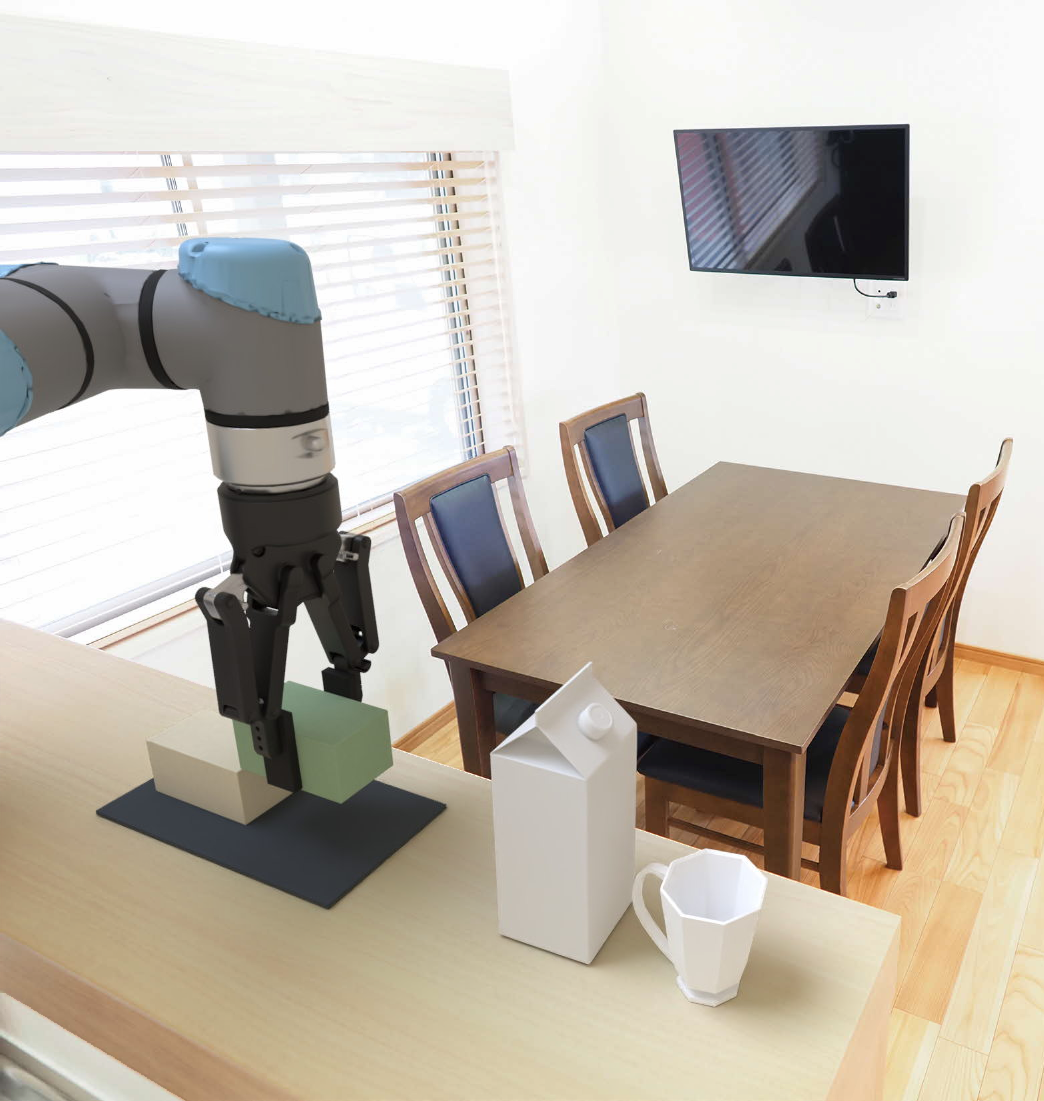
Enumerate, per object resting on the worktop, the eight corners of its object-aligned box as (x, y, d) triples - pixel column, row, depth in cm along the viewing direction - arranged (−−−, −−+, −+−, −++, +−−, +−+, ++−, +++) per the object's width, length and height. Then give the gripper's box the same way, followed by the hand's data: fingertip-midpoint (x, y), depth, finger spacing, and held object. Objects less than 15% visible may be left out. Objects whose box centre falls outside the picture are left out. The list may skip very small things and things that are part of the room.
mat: (96, 814, 75) (95, 810, 74) (234, 735, 86) (233, 731, 86) (328, 909, 66) (327, 905, 66) (446, 807, 78) (446, 803, 77)
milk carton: (498, 936, 65) (486, 698, 58) (550, 872, 71) (545, 650, 64) (588, 967, 63) (588, 724, 56) (635, 898, 69) (639, 672, 62)
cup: (722, 1043, 58) (728, 941, 55) (600, 966, 63) (601, 870, 60) (781, 972, 63) (790, 876, 60) (665, 907, 68) (668, 816, 65)
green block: (240, 768, 72) (230, 712, 70) (296, 733, 76) (288, 679, 74) (341, 804, 68) (333, 746, 66) (393, 765, 73) (388, 709, 71)
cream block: (300, 788, 78) (293, 737, 77) (245, 825, 74) (236, 772, 72) (213, 757, 82) (204, 707, 80) (155, 791, 77) (145, 739, 75)
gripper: (198, 526, 54) (254, 849, 63) (414, 453, 70) (435, 718, 79) (109, 505, 57) (174, 818, 65) (337, 439, 73) (365, 697, 81)
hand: (317, 763), depth 72 cm, fingers closed on green block, 5 cm apart
